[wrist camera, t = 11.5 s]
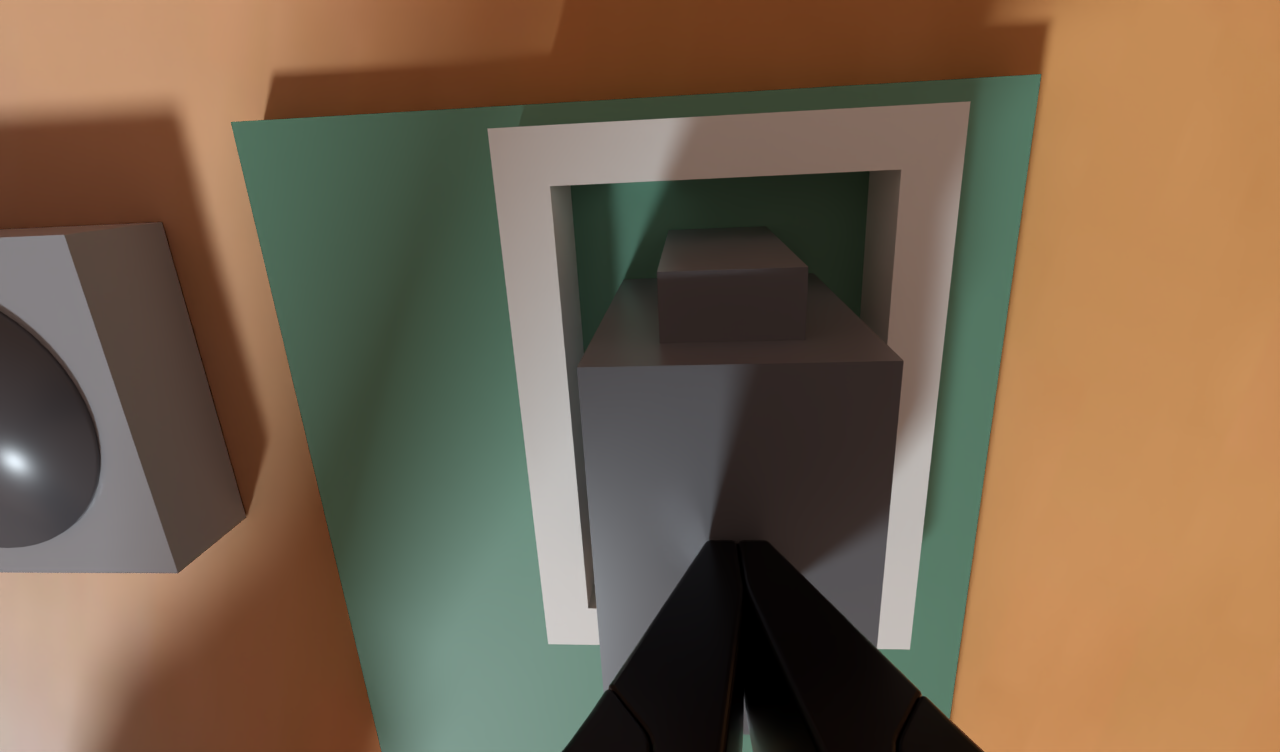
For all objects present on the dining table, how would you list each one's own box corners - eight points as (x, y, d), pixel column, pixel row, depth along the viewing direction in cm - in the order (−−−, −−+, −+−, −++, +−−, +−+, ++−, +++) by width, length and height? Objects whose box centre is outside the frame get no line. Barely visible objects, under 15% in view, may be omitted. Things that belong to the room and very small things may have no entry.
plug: (636, 522, 16) (606, 730, 10) (620, 231, 13) (569, 289, 8) (802, 522, 15) (868, 737, 10) (815, 224, 13) (911, 278, 7)
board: (400, 739, 20) (352, 835, 17) (261, 124, 14) (154, 117, 11) (927, 754, 19) (969, 861, 16) (1015, 79, 13) (1107, 59, 10)
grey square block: (-17, 518, 18) (-127, 575, 16) (-140, 235, 16) (-296, 251, 13) (245, 517, 18) (173, 577, 15) (161, 222, 15) (56, 235, 13)
